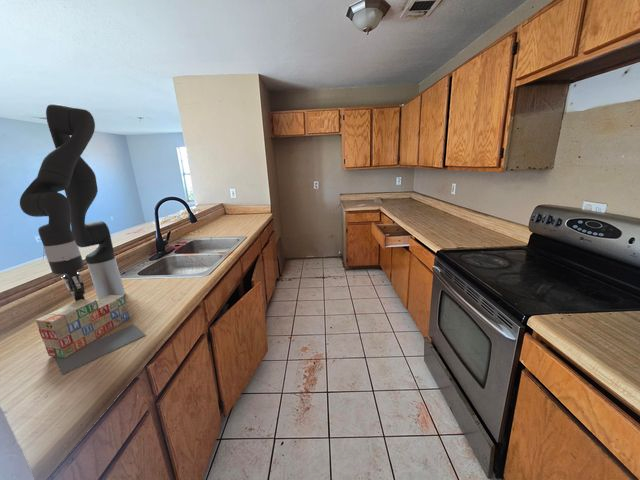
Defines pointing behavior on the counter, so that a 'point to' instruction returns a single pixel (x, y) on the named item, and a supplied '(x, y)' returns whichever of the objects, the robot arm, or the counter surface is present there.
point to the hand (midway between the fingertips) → (81, 304)
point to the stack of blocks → (80, 324)
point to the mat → (99, 348)
